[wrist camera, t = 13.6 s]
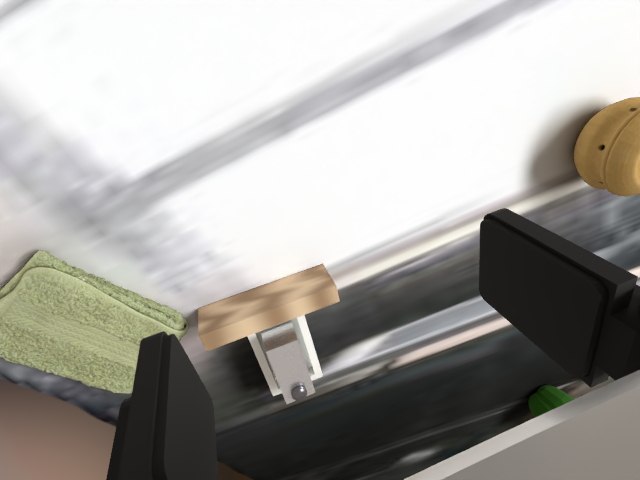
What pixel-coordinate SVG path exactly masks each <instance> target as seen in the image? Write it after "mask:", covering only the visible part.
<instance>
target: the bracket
mask: <svg viewBox="0 0 640 480" xmlns="http://www.w3.org/2000/svg"><path fill="white" fill-rule="evenodd" d="M286 322H287V321H286ZM291 322H292V325H293V327H294V330H295V333H296V335H297V338H298V341H299V344H300V347H301V350H302V353H303V356H304V359H305V362H306V365H307V368H308V371H309V375H310V378H311V381H312V380H315V379H317V378H320V377H322V376H323V375H322V371H321V368H320V365H319V361H318V358H317V355H316V352H315V348H314V345H313V342H312V339H311V335H310V332H309V329H308V326H307V322H306V319H305V316H304V315H302V316H300V317H297V318H294V319H292V320H291ZM278 325H279V324H278ZM270 328H271V327H270ZM262 331H263V330H262ZM248 339H249V341H250V343H251V346H252V348H253V350H254V353H255V355H256V357H257V360H258V362H259V364H260V367H261V369H262V371H263V374H264V376H265V378H266V381H267V383H268V385H269V388H270V390H271V392H272V395H273V396H275V395H278V394H280V393H282V391H281V389H280V386H279V384H278V381H277V379H276V376H275V374H274V371H273V369H272V366H271V364H270V361H269V359H268V356H267V354H266V351H265V347H264V343H263V338H262V334H261V331H260V332H257V333H254V334H252V335H249V336H248Z"/></svg>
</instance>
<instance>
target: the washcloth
mask: <svg viewBox="0 0 640 480" xmlns="http://www.w3.org/2000/svg"><path fill="white" fill-rule="evenodd" d="M188 328H189V325H188V323H187V321H186V320H185V319H184V318H183V317H182V314H181V313H180V312H177V311H176V310H173V309H171V308H170V307H168V306H165V305H160V304H159V303H156V302H155V301H152V300H150V299H147V298H143V297H141V296H140V295H139V294H137V293H134V292H132V291H130V290H126V289H123V288H122V287H117V286H116V285H113V284H111V282H108V281H105V279H104V278H101V279H100V277H95V275H94V274H93V275H91V274H87V273H86V272H85V271H83V270H81V269H77V268H76V267H73V268H72V267H71V266H68V265H67V264H66V262H64V261H61V260H58V259H57V258H55V257H54V256H52V255H50V253H49V252H46V251H41V250H38V252H37V253H35V254H34V256H33V257H32V258H31V259H30V260H29V262H28V263H26V265H25V266H24V267H23V268H22V270H21V271H19V272H18V273H17V274H16V275H15V276H14V277H13V278H12V279H11V280H10V281H9V282H8V283H7V284H6V285H5V287H4V288H3V289H2V290H1V291H0V357H3V358H4V360H6V361H9V362H13V363H20V364H22V365H29V367H35V368H36V369H39V370H42V371H44V370H45V371H46V372H48V373H49V372H50V373H54V374H55V375H61V376H62V377H66V378H70V379H74V380H78V381H81V382H82V383H83V384H86V385H87V386H93V387H95V388H100V389H104V390H105V389H107V390H109V391H113V393H118V392H119V393H131V392H132V390H133V384H134V378H135V372H136V366H137V360H138V354H139V347H140V342H141V340H142V339H143V338H146V337H148V336H151V335H154V334H157V333H160V332H162V331H165V332H166V333H167V334H168V335H170V334H175V335H176V337H177V338H178V340H179V341H180V340H181V337H183V336H184V335H185V334H186V331H187V330H188Z"/></svg>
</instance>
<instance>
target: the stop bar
mask: <svg viewBox="0 0 640 480" xmlns="http://www.w3.org/2000/svg"><path fill="white" fill-rule="evenodd" d="M261 334H262V338H263V343H264V347H265V351H266V354H267V356H268V359H269V361H270V364H271V366H272V369H273V371H274V374H275V376H276V379H277V381H278V384H279V386H280V389H281V391H282V394H283V396H284V399H285V401H286V404H289V403H291V402H294V401H296V400H297V401H298V400H302V399H304V398H305V397H306V396H308V395H311V394H313V393H315V390H314V387H313V384H312V381H311V378H310V375H309V371H308V368H307V365H306V362H305V359H304V356H303V353H302V350H301V347H300V344H299V341H298V338H297V335H296V333H295V330H294V327H293V325H292V322H291V320H289V321H287V322H284V323H281V324H279V325H276V326H273V327H271V328H268V329H265V330H263V331H261Z"/></svg>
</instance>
